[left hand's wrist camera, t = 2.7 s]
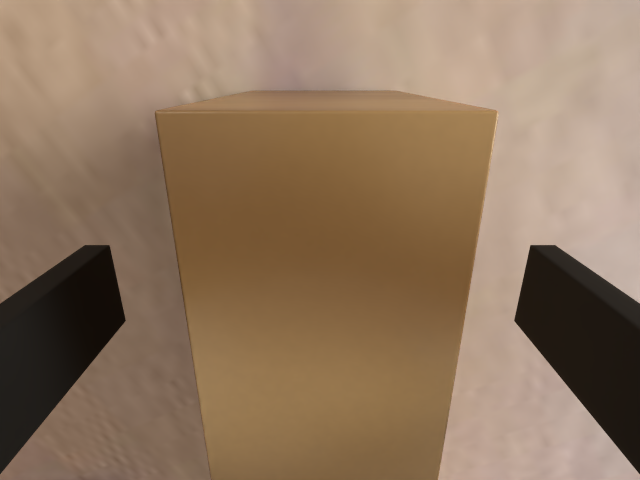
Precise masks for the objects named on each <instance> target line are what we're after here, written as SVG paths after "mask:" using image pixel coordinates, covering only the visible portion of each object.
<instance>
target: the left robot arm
mask: <svg viewBox="0 0 640 480" xmlns="http://www.w3.org/2000/svg"><path fill="white" fill-rule="evenodd" d="M125 321H126V320H125V315H124V311H123V306H122V301H121V297H120V292H119V287H118V283H117V278H116V273H115V269H114V264H113V259H112V255H111V250H110V245H85V246H83V247H82V248H80V249H79V250H77V251H76V252H74V253H73V254H72V255H70V256H69V257H67V258H66V259H64V260H63V261H61V262H60V263H59V264H57V265H56V266H54V267H53V268H51V269H50V270H48V271H47V272H45V273H44V274H43V275H41V276H40V277H38V278H37V279H35V280H34V281H32V282H31V283H30V284H28V285H27V286H25V287H24V288H22V289H21V290H19V291H18V292H16V293H15V294H14V295H12V296H11V297H9V298H8V299H6V300H5V301H3V302H2V303H1V304H0V474H1V473H2V471H3V470H4V469H5V468H6V466H7V465H8V464H9V463H10V462H11V460H12V459H13V458H14V457H15V455H16V454H17V453H18V452H19V451H20V449H21V448H22V447H23V446H24V444H25V443H26V442H27V441H28V440H29V438H30V437H31V436H32V435H33V433H34V432H35V431H36V430H37V429H38V427H39V426H40V425H41V424H42V422H43V421H44V420H45V419H46V418H47V416H48V415H49V414H50V413H51V411H52V410H53V409H54V408H55V407H56V405H57V404H58V403H59V402H60V400H61V399H62V398H63V397H64V396H65V394H66V393H67V392H68V391H69V389H70V388H71V387H72V386H73V385H74V383H75V382H76V381H77V380H78V378H79V377H80V376H81V375H82V373H83V372H84V371H85V370H86V369H87V367H88V366H89V365H90V364H91V362H92V361H93V360H94V359H95V358H96V356H97V355H98V354H99V353H100V351H101V350H102V349H103V348H104V347H105V345H106V344H107V343H108V342H109V340H110V339H111V338H112V337H113V336H114V334H115V333H116V332H117V331H118V329H119V328H120V327H121V326H122V325H123V323H124V322H125ZM514 321H515V322H516V323H517V325H518V326H519V327H520V328H521V329H522V331H523V332H524V333H525V334H526V336H527V337H528V338H529V339H530V340H531V342H532V343H533V344H534V345H535V347H536V348H537V349H538V350H539V351H540V353H541V354H542V355H543V356H544V358H545V359H546V360H547V361H548V362H549V364H550V365H551V366H552V367H553V369H554V370H555V371H556V372H557V373H558V375H559V376H560V377H561V378H562V380H563V381H564V382H565V383H566V385H567V386H568V387H569V388H570V389H571V391H572V392H573V393H574V394H575V396H576V397H577V398H578V399H579V400H580V402H581V403H582V404H583V405H584V407H585V408H586V409H587V410H588V411H589V413H590V414H591V415H592V416H593V418H594V419H595V420H596V421H597V422H598V424H599V425H600V426H601V427H602V429H603V430H604V431H605V432H606V433H607V435H608V436H609V437H610V438H611V440H612V441H613V442H614V443H615V444H616V446H617V447H618V448H619V449H620V451H621V452H622V453H623V454H624V455H625V457H626V458H627V459H628V460H629V462H630V463H631V464H632V465H633V466H634V468H635V469H636V470H637V471H638V473H639V474H640V304H639V303H638V302H637V301H635V300H634V299H632V298H631V297H629V296H628V295H626V294H625V293H624V292H622V291H621V290H619V289H618V288H616V287H615V286H613V285H612V284H610V283H609V282H608V281H606V280H605V279H603V278H602V277H600V276H599V275H597V274H596V273H595V272H593V271H592V270H590V269H589V268H587V267H586V266H584V265H583V264H581V263H580V262H579V261H577V260H576V259H574V258H573V257H571V256H570V255H568V254H567V253H566V252H564V251H563V250H561V249H560V248H558V247H557V246H555V245H530V250H529V255H528V259H527V264H526V269H525V273H524V278H523V283H522V287H521V292H520V297H519V301H518V306H517V311H516V315H515V320H514Z"/></svg>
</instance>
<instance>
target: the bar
mask: <svg viewBox="0 0 640 480" xmlns="http://www.w3.org/2000/svg"><path fill="white" fill-rule="evenodd" d="M498 115H499V113H498V111H496V110H491V109H486V108H481V107H476V106H471V105H466V104H461V103H456V102H451V101H445V100H440V99H435V98H430V97H425V96H420V95H415V94H410V93H405V92H400V91H249V92H244V93H239V94H234V95H229V96H224V97H220V98H215V99H210V100H205V101H200V102H195V103H190V104H186V105H181V106H176V107H171V108H166V109H161V110H157V111H155V118H156V124H157V131H158V137H159V144H160V150H161V157H162V163H163V170H164V176H165V183H166V189H167V196H168V202H169V209H170V215H171V222H172V228H173V235H174V241H175V248H176V254H177V261H178V267H179V274H180V280H181V287H182V293H183V300H184V306H185V313H186V319H187V326H188V332H189V339H190V345H191V352H192V358H193V365H194V371H195V378H196V384H197V391H198V397H199V404H200V410H201V417H202V423H203V430H204V436H205V443H206V449H207V456H208V462H209V469H210V475H211V480H438V475H439V469H440V463H441V457H442V451H443V445H444V439H445V433H446V427H447V421H448V415H449V409H450V403H451V397H452V391H453V385H454V379H455V373H456V367H457V361H458V355H459V349H460V343H461V337H462V331H463V325H464V319H465V313H466V307H467V301H468V295H469V289H470V283H471V277H472V271H473V265H474V259H475V253H476V247H477V241H478V235H479V229H480V223H481V217H482V211H483V205H484V199H485V193H486V187H487V181H488V175H489V169H490V163H491V157H492V151H493V145H494V139H495V133H496V127H497V121H498Z"/></svg>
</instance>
